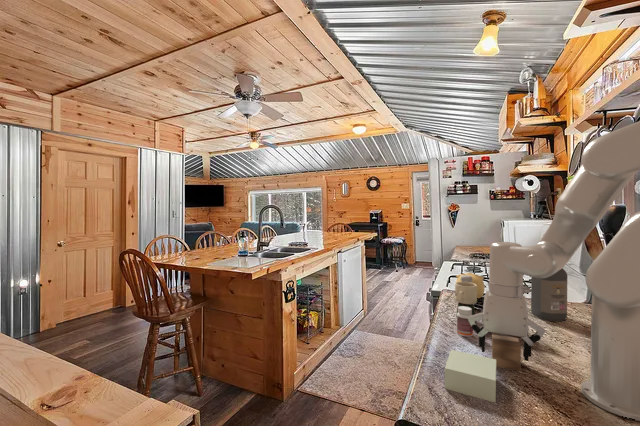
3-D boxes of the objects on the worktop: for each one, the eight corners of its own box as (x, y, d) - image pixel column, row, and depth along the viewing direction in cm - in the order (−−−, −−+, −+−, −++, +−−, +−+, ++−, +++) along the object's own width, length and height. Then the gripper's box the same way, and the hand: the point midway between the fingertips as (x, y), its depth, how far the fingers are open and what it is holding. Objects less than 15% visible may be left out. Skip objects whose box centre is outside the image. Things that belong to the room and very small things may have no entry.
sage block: (496, 380, 73) (496, 359, 73) (495, 403, 64) (495, 380, 64) (450, 369, 78) (450, 349, 78) (444, 389, 69) (444, 368, 69)
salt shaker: (475, 307, 123) (475, 275, 122) (473, 311, 118) (474, 278, 118) (459, 304, 126) (459, 273, 126) (457, 308, 121) (457, 276, 121)
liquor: (571, 321, 107) (572, 236, 106) (544, 321, 107) (545, 236, 106) (552, 312, 116) (553, 233, 115) (527, 312, 116) (528, 233, 115)
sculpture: (483, 294, 139) (483, 271, 139) (485, 302, 128) (485, 277, 128) (455, 292, 144) (455, 269, 143) (455, 299, 133) (455, 275, 132)
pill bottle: (475, 337, 95) (475, 311, 95) (458, 336, 96) (458, 310, 96) (470, 331, 100) (470, 306, 100) (455, 330, 101) (455, 305, 100)
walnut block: (517, 360, 81) (517, 338, 81) (520, 371, 76) (520, 347, 76) (491, 355, 84) (491, 334, 84) (493, 366, 79) (493, 343, 79)
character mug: (461, 313, 116) (461, 279, 116) (481, 318, 111) (481, 282, 111) (449, 321, 108) (449, 285, 108) (471, 327, 103) (471, 289, 103)
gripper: (543, 290, 79) (541, 355, 80) (468, 282, 87) (467, 341, 88) (549, 298, 72) (547, 369, 73) (468, 289, 80) (467, 353, 81)
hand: (503, 354), depth 80 cm, fingers open, 9 cm apart
